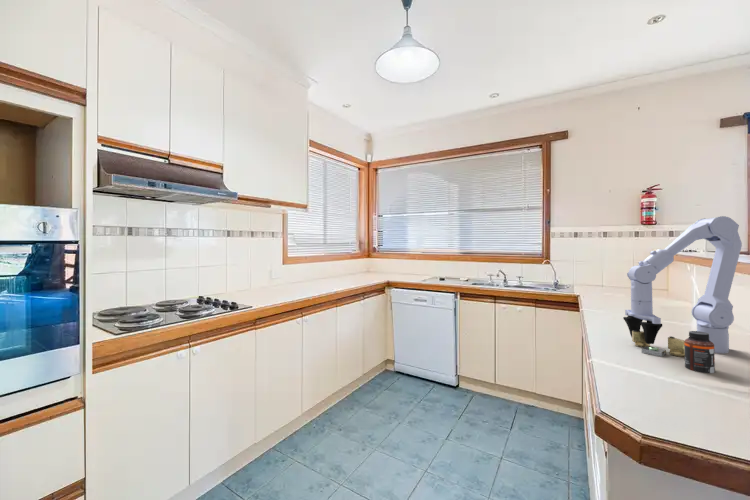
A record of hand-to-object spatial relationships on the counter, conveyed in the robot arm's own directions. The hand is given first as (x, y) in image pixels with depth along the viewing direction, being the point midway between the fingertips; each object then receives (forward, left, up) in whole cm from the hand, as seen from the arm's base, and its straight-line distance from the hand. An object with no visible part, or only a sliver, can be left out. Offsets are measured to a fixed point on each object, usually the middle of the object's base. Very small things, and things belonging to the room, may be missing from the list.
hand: (642, 340), depth 114 cm
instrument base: (+4, +5, -3) cm, 7 cm away
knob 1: (0, 0, -2) cm, 2 cm away
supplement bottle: (+14, +17, -3) cm, 22 cm away
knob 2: (+3, +10, -2) cm, 11 cm away
